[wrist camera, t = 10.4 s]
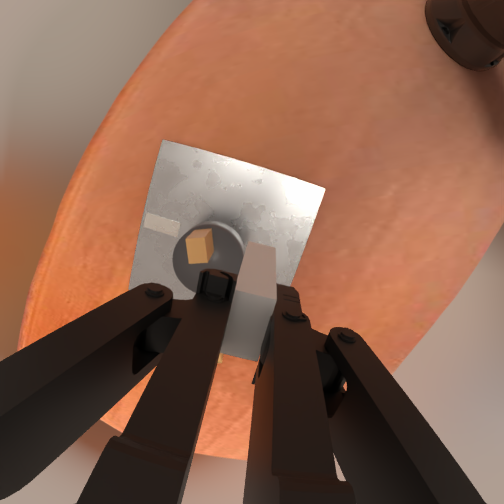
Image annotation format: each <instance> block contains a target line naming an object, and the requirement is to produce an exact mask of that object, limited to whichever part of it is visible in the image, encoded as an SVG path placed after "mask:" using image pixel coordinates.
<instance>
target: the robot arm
mask: <svg viewBox="0 0 504 504" xmlns="http://www.w3.org/2000/svg"><path fill="white" fill-rule="evenodd" d="M425 12H426V19H427V22H428V25H429V28H430V30H431V32H432V34H433V36H434V37H435V39H436V41H437V42H438V43H439V45H440V46H441V47H442V49H443V50H444V51H445V52H446V53H447V54H448V55H449V56H450V57H451V58H452V59H454V60H455V61H456V62H458V63H459V64H461V65H462V66H464V67H466V68H468V69H471V70H476V71H483V70H486V69H489V68H492V67H494V66H496V65H497V64H498V63H499V62H500V61H501V60H502V59H503V57H504V0H428V1H427V3H426V10H425ZM220 353H223V354H227V355H231V356H235V357H239V358H244V359H248V360H252V361H257V362H258V358H259V355H260V359H259V363H258V366H257V369H256V372H255V375H254V378H253V381H252V384H255V390H254V400H253V410H252V421H251V431H250V441H249V451H248V460H247V470H246V479H245V489H244V498H243V504H486V503H485V502H484V500H483V499H482V497H481V496H480V495H479V493H478V491H477V490H476V489H475V487H474V486H473V484H472V483H471V481H470V480H469V479H468V477H467V476H466V474H465V473H464V472H463V470H462V469H461V467H460V466H459V465H458V463H457V462H456V461H455V459H454V458H453V456H452V455H451V454H450V452H449V451H448V450H447V448H446V447H445V445H444V444H443V443H442V442H441V440H440V439H439V437H438V436H437V434H436V433H435V432H434V431H433V429H432V428H431V427H430V425H429V424H428V422H427V421H426V420H425V419H424V417H423V416H422V414H421V413H420V412H419V411H418V409H417V408H416V407H415V405H414V404H413V403H412V401H411V400H410V399H409V397H408V396H407V395H406V393H405V392H404V391H403V389H402V388H401V387H400V386H399V384H398V383H397V382H396V380H395V379H394V378H393V376H392V375H391V374H390V373H389V371H388V370H387V369H386V367H385V366H384V365H383V364H382V362H381V361H380V360H379V359H378V357H377V356H376V355H375V353H374V352H373V351H372V350H371V348H370V347H369V346H368V345H367V343H366V342H365V341H364V340H363V338H362V337H361V336H360V335H359V334H357V333H356V332H354V331H353V330H351V329H348V328H342V327H334V328H332V329H331V330H330V332H329V334H328V335H325V334H323V333H320V332H318V331H316V330H314V329H312V328H311V324H310V320H309V318H308V316H306V315H305V314H304V313H302V310H301V304H300V299H299V293H298V292H297V291H296V290H295V288H294V287H290V286H286V285H282V284H278V283H276V248H275V247H271V246H267V245H263V244H259V243H255V242H251V241H248V244H247V247H246V251H245V254H244V257H243V261H242V264H241V268H240V271H239V275H238V274H234V273H230V272H226V271H223V270H218V269H204V270H202V271H200V274H199V279H198V284H197V290H196V294H195V295H194V297H193V299H189V300H179V299H173V292H172V290H171V289H170V288H168V287H166V286H164V285H161V284H159V283H144V284H141V285H139V286H137V287H135V288H133V289H131V290H129V291H127V292H125V293H123V294H122V295H120V296H118V297H116V298H114V299H112V300H110V301H109V302H107V303H105V304H103V305H101V306H99V307H97V308H96V309H94V310H92V311H90V312H88V313H86V314H85V315H83V316H81V317H79V318H77V319H75V320H74V321H72V322H70V323H68V324H66V325H64V326H63V327H61V328H59V329H57V330H55V331H54V332H52V333H50V334H48V335H46V336H45V337H43V338H41V339H39V340H38V341H36V342H34V343H32V344H30V345H29V346H27V347H25V348H23V349H22V350H20V351H18V352H16V353H14V354H13V355H11V356H9V357H7V358H6V359H4V360H3V361H1V362H0V500H2V499H5V498H6V497H8V496H10V495H12V494H13V493H15V492H17V491H19V490H20V489H22V488H23V487H24V486H25V485H27V484H28V483H29V482H31V481H32V480H33V479H34V478H35V477H36V476H37V475H39V473H41V472H42V471H43V470H44V469H45V468H46V467H47V466H49V465H50V464H51V463H52V462H53V461H54V460H55V459H56V458H57V457H59V456H60V455H61V454H62V453H63V452H64V451H65V450H66V449H67V448H68V447H69V446H70V445H72V444H73V443H74V442H75V441H76V440H77V439H78V438H79V437H80V436H82V435H83V434H84V433H85V432H86V431H87V430H88V429H89V428H90V427H91V426H92V425H94V424H95V423H96V422H97V421H98V420H99V419H100V418H101V417H102V416H103V415H104V414H105V413H107V412H108V411H109V410H110V409H111V408H112V407H113V406H114V405H115V404H116V403H117V402H118V401H119V400H120V399H122V398H123V397H124V396H125V395H126V394H127V393H128V392H129V391H130V390H131V389H132V388H133V387H134V386H135V385H137V384H138V383H139V382H140V381H141V380H142V379H143V378H144V377H145V376H146V375H147V374H148V373H149V372H150V371H151V370H152V369H154V368H155V367H156V366H157V367H156V369H155V371H154V372H153V374H152V376H151V378H150V380H149V382H148V384H147V386H146V388H145V390H144V392H143V394H142V396H141V398H140V400H139V402H138V404H137V406H136V408H135V410H134V412H133V413H132V415H131V417H130V419H129V421H128V423H127V425H126V427H125V429H124V431H123V433H122V435H121V436H120V437H117V436H113V437H112V438H110V440H109V442H108V443H107V445H106V447H105V448H104V450H103V452H102V454H101V456H100V458H99V460H98V462H97V464H96V465H95V468H94V469H93V471H92V473H91V475H90V477H89V479H88V482H87V483H86V485H85V487H84V489H83V491H82V493H81V495H80V497H79V499H78V501H77V503H76V504H181V502H182V498H183V494H184V490H185V486H186V482H187V478H188V474H189V471H190V467H191V463H192V459H193V455H194V451H195V447H196V443H197V440H198V436H199V432H200V428H201V424H202V420H203V416H204V412H205V409H206V405H207V401H208V397H209V393H210V389H211V386H212V382H213V378H214V374H215V370H216V366H217V363H218V359H219V354H220ZM345 382H347V391H345V389H344V387H343V385H344V384H345ZM333 453H334V455H335V457H336V459H337V462H338V464H339V466H340V468H341V471H342V473H343V475H344V477H345V479H346V481H339V479H338V478H337V474H336V468H335V461H334V455H333Z"/></svg>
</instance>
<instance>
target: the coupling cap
mask: <svg viewBox="0 0 504 504" xmlns="http://www.w3.org/2000/svg"><path fill="white" fill-rule="evenodd" d="M244 254H245V248H244V244H243V241H242V239H241V237H240V236H239V234H238V233H237V232H236V231H235V230H234V229H233V228H232V227H230V226H229V225H227V224H225V223H222V222H219V221H204V222H201V223H199V224H196V225H195V226H193V227H192V228H191V229H190V230H189V231H187V232H186V233H185V234H184V235H183V236H182V237H181V238H180V239H179V241H178V242H177V244H176V246H175V248H174V251H173V258H172V261H173V268H174V271H175V274H176V276H177V277H178V279H179V280H180V282H181V283H182V284H183V285H184V286H185V287H186V288H188V289H189V290H191V291H193V292H195V293H196V290H197V284H198V279H199V274H200V271H202V270H204V269H218V270H223V271H226V272H230V273H234V274H238V275H239V271H240V268H241V264H242V261H243V257H244ZM223 355H224V354H223V353H220V354H219V359H218V363H222V360H223Z"/></svg>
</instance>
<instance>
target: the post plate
mask: <svg viewBox="0 0 504 504" xmlns="http://www.w3.org/2000/svg"><path fill="white" fill-rule="evenodd" d="M324 191H325V188H322V187H319V186H316V185H314V184H311V183H308V182H305V181H302V180H299V179H296V178H293V177H290V176H287V175H284V174H281V173H278V172H275V171H272V170H269V169H266V168H263V167H260V166H256V165H253V164H250V163H247V162H243V161H240V160H237V159H233V158H230V157H227V156H223V155H220V154H216V153H213V152H209V151H205V150H202V149H198V148H194V147H191V146H187V145H183V144H179V143H175V142H171V141H167V140H162V143H161V147H160V150H159V154H158V157H157V161H156V165H155V168H154V172H153V176H152V180H151V184H150V187H149V192H148V196H147V200H146V204H145V208H144V213H143V217H142V221H141V226H140V231H139V235H138V240H137V245H136V250H135V255H134V261H133V266H132V272H131V278H130V283H129V290H131V289H133V288H135V287H137V286H139V285H141V284H144V283H159V284H161V285H164V286H166V287H168V288H170V289H171V290H172V292H173V299H179V300H189V299H193V297H194V295H195V294H196V293H195V292H193V291H191V290H189V289H188V288H186V287H185V286H184V285H183V284H182V283H181V282H180V280H179V279H178V277H177V276H176V274H175V271H174V268H173V261H172V258H173V251H174V248H175V246H176V244H177V242H178V241H179V239H180V238H181V237H182V236H183V235H184V234H185V233H186V232H187V231H189V230H190V229H191V228H192V227H193V226H195V225H196V224H199V223H201V222H204V221H219V222H222V223H225V224H227V225H229V226H230V227H232V228H233V229H234V230H235V231H236V232H237V233H238V234H239V236H240V237H241V239H242V241H243V244H244V248H245V251H246V247H247V244H248V241H251V242H255V243H259V244H263V245H267V246H271V247H275V248H276V283H278V284H282V285H286V286H290V285H291V283H292V280H293V277H294V275H295V272H296V269H297V267H298V264H299V261H300V259H301V256H302V253H303V251H304V248H305V245H306V242H307V240H308V237H309V234H310V231H311V229H312V226H313V223H314V220H315V217H316V214H317V212H318V209H319V206H320V203H321V200H322V197H323V194H324Z"/></svg>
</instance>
